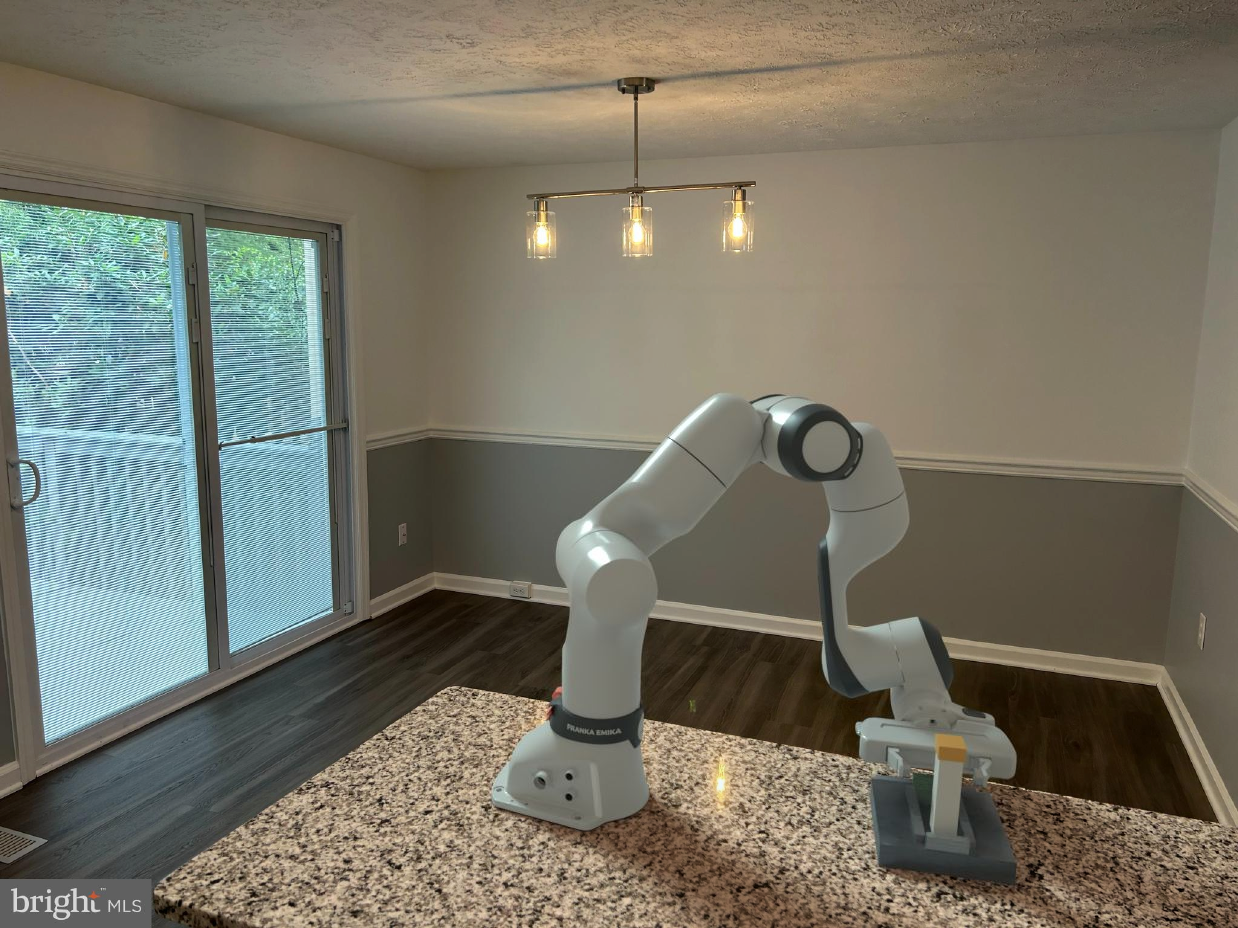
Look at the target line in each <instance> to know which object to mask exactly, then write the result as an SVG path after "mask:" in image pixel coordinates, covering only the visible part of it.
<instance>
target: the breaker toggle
mask: <svg viewBox="0 0 1238 928" xmlns="http://www.w3.org/2000/svg"><path fill="white" fill-rule="evenodd" d="M934 747H935V750H936V756H935V768H934V770H933V775H934V779H933V791H932V802H931V814H930V827H931V832H932V833H940V834H947V835H955V836H957V827H958V816H959V805H960V794H961V785H963V784H962V781H963V774H962V773H963V763H966V752H967V749H966V746H965V743H964V740H963V738H962V736H954V735H945V734H935V745H934Z"/></svg>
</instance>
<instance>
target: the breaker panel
mask: <svg viewBox="0 0 1238 928" xmlns="http://www.w3.org/2000/svg"><path fill="white" fill-rule="evenodd" d="M911 779H912V783H905V782H896V781H888V780H880V779H875V778H870V789H869V790H870V791H869V792H870V793H869V802H870V803H869V804H870V811H871V817H872V819H871V820H872V826H873V833H874V834H873V835H874V840H875V848H876V857H877V864H878V865H877V866H878V867H885V868H891V869H898V870H905V871H911V872H912V871H913V872H920V873H926V874H932V875H933V874H934V875H940V876H947V877H954V878H961V879H969V880H976V881H982V882H988V883H989V882H990V883H997V884H1005V885H1010V886H1011V885H1012V886H1015V885H1016V874H1017V866H1018V861H1017V860H1016V857H1015V855H1014V854H1015V853H1014V852H1013V850H1012V849H1013V848H1012V846H1011V844H1010V842H1009V841H1010V840H1009V839H1008V836H1007V833H1006V831H1005V828H1004V825H1003V822H1002V820H1001V818H1000V815H999V813H998V809H997V807H996V805H995V802H994V799H993V797H992V794H991V792H987V791H986V792H985V791H984V792H983V791H978V790H977V791H970V790H962V789H961V794H960V805H959V816H958V827H957V836H955V835H947V834H940V833H932V832H931V827H930V814H931V802H932V791H933V779H934V774H930V773H922V772H912V775H911Z"/></svg>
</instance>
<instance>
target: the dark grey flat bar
mask: <svg viewBox="0 0 1238 928" xmlns="http://www.w3.org/2000/svg"><path fill="white" fill-rule="evenodd" d="M874 779H880V780H888V781H896V782H905V783H912V778H904V777H897V776H891V775H882V774H874ZM961 789H962V790H970V791H978V790H977V786H974V785H973V786H972V785H965V784H961Z"/></svg>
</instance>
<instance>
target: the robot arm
mask: <svg viewBox="0 0 1238 928" xmlns="http://www.w3.org/2000/svg"><path fill="white" fill-rule="evenodd" d="M756 463H757V464H758V463H761V464H764V465H766V466H767V467H768V468H769V469H771V470H773V471H774V472H776V473H778V474H780V475H783V476H785V477H786V476H787V477H791V478H795V479H796V480H799V481H802V482H805V483H821V484H822V486H823V489H824V494H825V498H826V501H827V505H828V510H829V515H830V516H829V519H830V520H829V526H828V528H827V529H828V530H827V533H826V534H825V535H824V536H823V537H822V538H820V540H819V541H818V545H817V550H816V551H817V552H816V563H817V583H818V595H819V596H818V597H819V605H820V606H819V608H820V617H821V618H820V619H821V625H822V635H823V637H822V639H823V640H822V647H821V648H822V649H821V664H822V665H821V666H822V671H823V675H824V678H825V680H826V682H827V683H828V684H829V688H831V689H832V690H833V691H836V692H837V693H838V694H840V695H842V696H845V697H847V698H850V699H854V698H857V697H861V696H865V695H868V694H871V693H872V692H878V691H883V690H887V689H890V704H891V709H892V714H893V716H894V719H891V718H883V717H882V718H881V717H868V718H866V719H864V720H863V721H857V722H856V723H855V725H854V729H855V733H856V735H858V736H859V737H860V738H859V751H858V752H859V757H860V759H861V760H863V761H865V762H867V763H871V764H880V765H887V766H889V768H890V769H892V770H893V771H895V772H896V773H897V776H898V777H900V778H908V779H911V772H912V769H913V768H914V769H921V770H922V769H923V770H930V771H934V768H935V756H936V750H935V747H934V745H935V734H945V735H954V736H962V738H963V740H964V743H965V746H966V749H967V752H966V763H963V773H962V775H971V776H972V783H973V786H974V787H976V788H977V787H979V788H985V789H986V788H988V783H989V779H990V778H996V779H1004V780H1011V779H1012V778H1013V777H1014V776H1015V774H1016V770H1017V752H1016V750H1015V748H1014V745H1013V744H1012V742H1011V741H1010V739H1009V738H1008V736H1007V735H1006V734H1005V732H1004V731H1002V729H1000V728H999V727H997V726H996V725H995V724H996V723H995V722H996V721H995V718H994V716H993V715H991V714H989V713H987V712H982V711H978V710H974V709H971V708H968V707H965V706H962V705H960V704H957V703H955V702H952V698H951V696H950V694H949V692H948V691H949V689H950V688H951V684H952V681H953V678H954V670H953V665H952V661H951V657H950V653H949V652H948V649H947V646H946V644H945V642H944V640H943V638H942V635H941V632H940V630H939V629H938V627H937V626H935V625H934V624H933V623H931V622H930V621H929V620H927V619H926V618H924V617H921V616H919V615H918V616H914V617H908V618H907V617H906V618H903V619H898V620H893V621H888V622H886V623H881V624H875V625H871V626H867V627H860V628H851V627H849V620H848V608H847V595H846V591H847V587H848V584H849V582H851V580H852V579H853V578H854V577H855V576H856V575H857V574H858V573H860V572H861V571H862V570H864V569H865V568H866V567H868V566H869V565H872V563H874V562H876V561H878V560H879V559H881V558H882V557H884V556H886V555H887V554H888V553H890V552H891V551H892V550H893V549H894V548H896V546H897V545H898V544H899V543H900V542H901V541H902V539H903V538H904V537H905V534H906V533H907V530H908V528H909V524H910V510H909V502H908V498H907V493H906V489H905V485H904V481H903V478H902V474H901V472H900V469H899V466H898V463H897V461H896V458H895V456H894V454H893V450H892V449H891V447H890V444H889V442H888V440H887V438H886V436H885V434H884V433H883V432H882V429H880V428H878V426H875V425H874V424H871V423H868V422H863V421H862V422H860V421H859V422H858V421H856V422H855V421H854V422H850V421H849V420H848V419H847V418H846V417H845V416H844V415H843V414H842V413H841V412H839V411H838V410H837V409H835V408H833V407H832V406H829V405H826V404H824V403H818V402H816V401H813V400H811V399H809V398H807V397H802V396H798V395H797V396H795V395H786V394H781V393H774V394H767V395H763V396H761V397H759V398H756V399H754V400H750V401H748V400H747V399H745V398H743V397H741V396H740V395H737V394H734V393H731V392H730V393H729V392H720V393H716V394H714V395H712V396H710V397H709V398H707V400H705V401H703V402H702V403H701V404H700V405H699V406H698V407H696V408H695V409H693V411H691V412H690V413H689V414H688V415H687V416H686V417H684V419H683V420H682V421H680V422H679V424H678V425H676V427H674V428H673V429H672V430H671V432H670V433H669V434H668V435H667V436H666V437H665V439H664V440H663V441H661V443H660V444H659V445H658V446H657V447H656V448H655V450H653V452H652V453H651V454H650V455H649V456H648V457H647V458H646V459H645V461H644V462H643V463H642V464H641V465H640V466H639V468H637V470H636V471H635V472H634V473H633V474H632V475H631V476H630V477H629V478H628V479H627V480H625V482H624V483H623V484H621V485H620V486H619V487H618V488H617V489H616V490H615V491H613V492H612V493H610V494H609V495H607V497H606V498H604V499H603V500H601V502H599V503H598V504H597V505H595V506H594V507H593V508H592V509H591V510H590V511H588V512H587V513H586V514H585V515H584V516H582V517H581V518H579V519H576V520H574V521H572V522H571V523H570V524H568V525H567V526H566V527H565V528H564V529H563V530H562V531H561V533H560V535H559V536H558V538H557V539H558V540H557V542H556V549H555V566H556V568H557V569H556V570H557V572H558V574H559V576H560V577H561V578H560V579H562V581H563V583H564V585H565V586H566V589H567V593H568V594H567V595H568V597H569V618H568V624H567V630H566V637H565V641H564V644H563V646H562V648H561V649H562V650H561V651H562V652H561V653H562V655H561V658H562V659H561V661H562V662H561V663H562V664H561V686H557V687H556V689H555V690H554V692H553V694H552V695H551V698H552V700H550V701H549V703H548V708H547V710H546V711H545V712H546V713H545V716H546V717H545V718H546V719H545V720H546V721H544V722H543V723H541V724H540V725H538V726H536V727H535V728H533V729H531V730H530V731H528V732H527V733H525V734H524V736H523V737H522V738H520V740H519V741H518V743H517V744H516V745H515V748H514V749H513V752H512V755H511V757H510V759H509V762H507V764H505V765H504V766H503V767H502V768H501V770H500V771H499V773H498V774H497V775H496V777H495V780H494V782H493V784H492V787H491V802H492V804H493V806H494V807H496V808H500V809H503V810H507V811H510V812H514V813H518V814H521V815H526V816H529V817H533V818H536V819H540V820H543V821H547V822H551V823H554V824H559V825H562V826H564V827H569V828H573V829H576V830H580V831H591V830H593V829H595V828H597V827H599V826H602V825H603V824H604V823H608V822H612V821H617V820H621V819H624V818H627V817H630V816H632V815H634V814H636V813H638V812H639V811H640V810H641V809H643V808H644V807H645V806H646V804H647V803H648V801H649V798H650V788H649V785H648V782H647V779H646V774H645V769H644V762H643V754H642V740H643V738H644V720H645V719H644V717H645V716H644V715H645V714H644V713H645V712H644V706H643V705H644V702H643V700H642V698H641V674H642V673H641V671H642V651H643V646H644V645H643V644H644V639H645V634H646V630H647V626H648V621H649V617H650V614H651V613H652V611H653V610H654V609H655V607H656V606H655V605H656V603H657V599H658V593H659V589H658V582H657V578H656V574H655V571H654V569H653V566H652V563H651V561H650V559H649V558H650V557H651V556H652V555H653V554H654V553H656V552H657V551H658V550H659V549H661V548H663V547H664V546H665V545H667V544H668V543H670V542H671V541H673V540H674V539H676V538H679V537H683V536H685V535H687V534H688V533H690V531H692V530H693V529H694V528H695V527H696V525H697V524H698V523H699V522H700V521H701V520H702V519H703V517H704V516H705V515H707V513H708V512H709V511H710V509H711V508H712V507H713V506H714V505H715V504H716V503H717V502H718V500H719V499H721V497H722V496H723V495H724V494H725V492H726V491H727V490H728V489H729V488H730V486H732V484H733V483H734V482H735V481H736V480H737V478H738V477H739V475H740V474H741V473H743V472H744V471H745V470H746V469H748V468H749V467H751V466H753V465H755V464H756Z"/></svg>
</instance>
